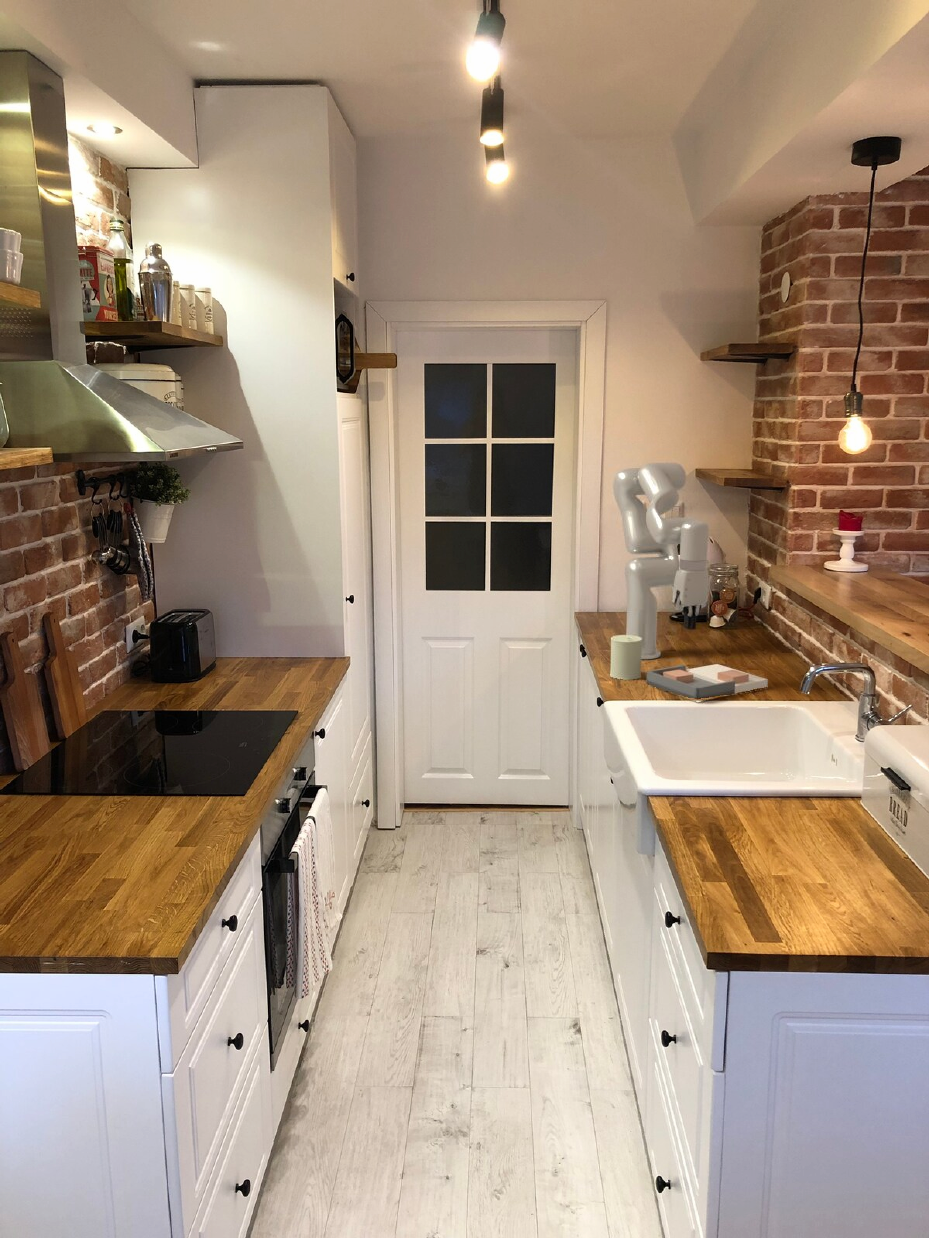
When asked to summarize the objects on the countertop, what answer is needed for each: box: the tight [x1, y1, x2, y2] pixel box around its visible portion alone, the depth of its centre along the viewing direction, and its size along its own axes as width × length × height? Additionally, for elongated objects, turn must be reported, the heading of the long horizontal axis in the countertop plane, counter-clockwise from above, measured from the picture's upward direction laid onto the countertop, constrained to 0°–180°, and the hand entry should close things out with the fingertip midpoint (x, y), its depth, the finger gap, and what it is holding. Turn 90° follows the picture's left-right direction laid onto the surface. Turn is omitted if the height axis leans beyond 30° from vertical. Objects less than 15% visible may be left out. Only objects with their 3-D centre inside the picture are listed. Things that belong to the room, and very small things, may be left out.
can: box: [609, 634, 642, 681], centre depth 288 cm, size 9×9×12 cm
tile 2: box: [717, 669, 750, 684], centre depth 274 cm, size 6×6×2 cm
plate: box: [686, 663, 769, 693], centre depth 281 cm, size 20×13×2 cm, turn 30°
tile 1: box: [663, 670, 693, 683], centre depth 279 cm, size 6×6×2 cm
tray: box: [645, 664, 736, 699], centre depth 274 cm, size 21×14×4 cm
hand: (689, 628), depth 278 cm, fingers closed
